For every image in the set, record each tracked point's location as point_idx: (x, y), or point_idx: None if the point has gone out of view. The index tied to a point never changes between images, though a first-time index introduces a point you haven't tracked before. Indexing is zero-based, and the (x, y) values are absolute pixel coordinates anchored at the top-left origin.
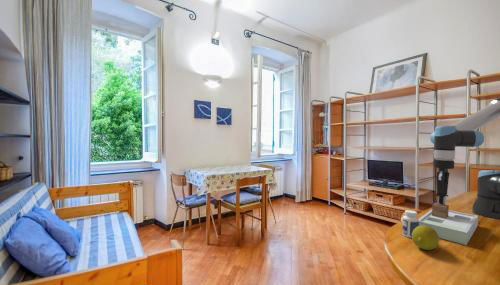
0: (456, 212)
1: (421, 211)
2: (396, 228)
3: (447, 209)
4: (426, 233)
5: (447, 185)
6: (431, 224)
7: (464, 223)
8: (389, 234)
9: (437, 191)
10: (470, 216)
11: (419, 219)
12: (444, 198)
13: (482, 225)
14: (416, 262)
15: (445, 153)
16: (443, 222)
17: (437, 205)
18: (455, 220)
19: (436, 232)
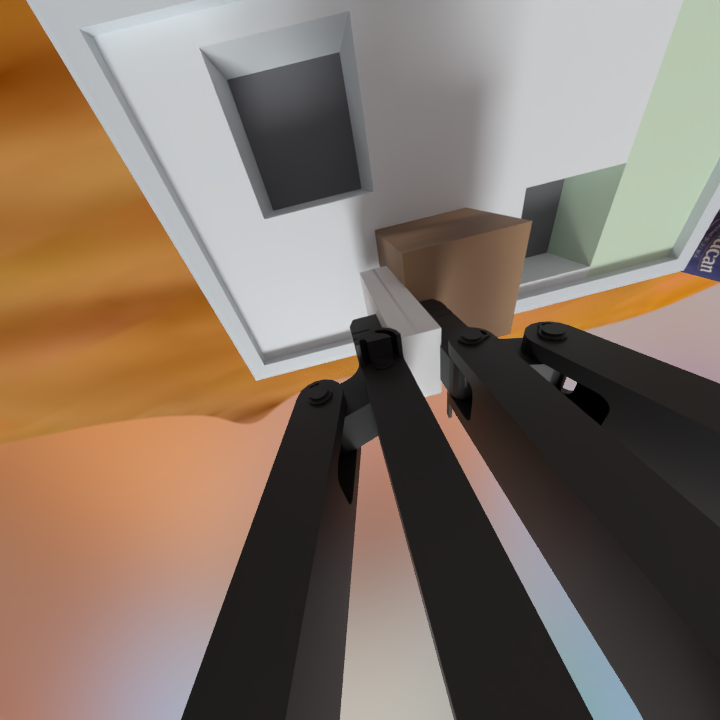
0: (197, 238)
1: (247, 409)
2: (616, 313)
3: (442, 231)
4: None
5: (298, 570)
6: None
7: (505, 7)
8: (710, 285)
9: (603, 419)
10: (137, 88)
11: (647, 273)
12: (431, 326)
13: (23, 11)
14: None
15: None
16: (591, 165)
17: (507, 301)
18: (458, 128)
19: None
